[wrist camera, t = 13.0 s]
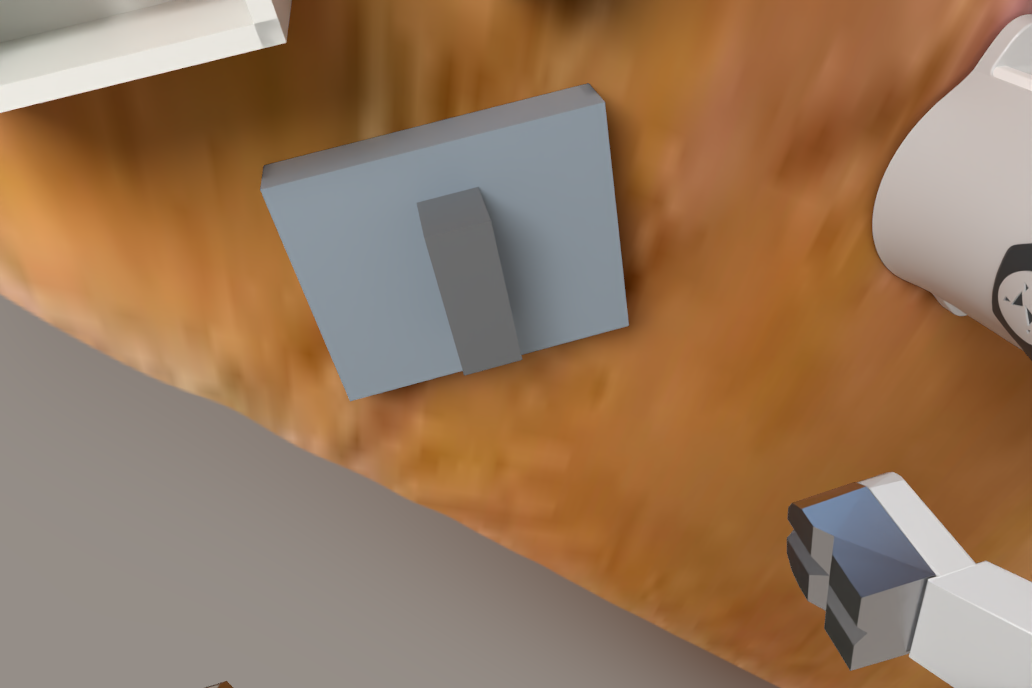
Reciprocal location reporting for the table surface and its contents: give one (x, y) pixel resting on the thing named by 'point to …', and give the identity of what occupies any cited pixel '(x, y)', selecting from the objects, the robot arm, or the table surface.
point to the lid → (456, 240)
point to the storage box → (122, 41)
